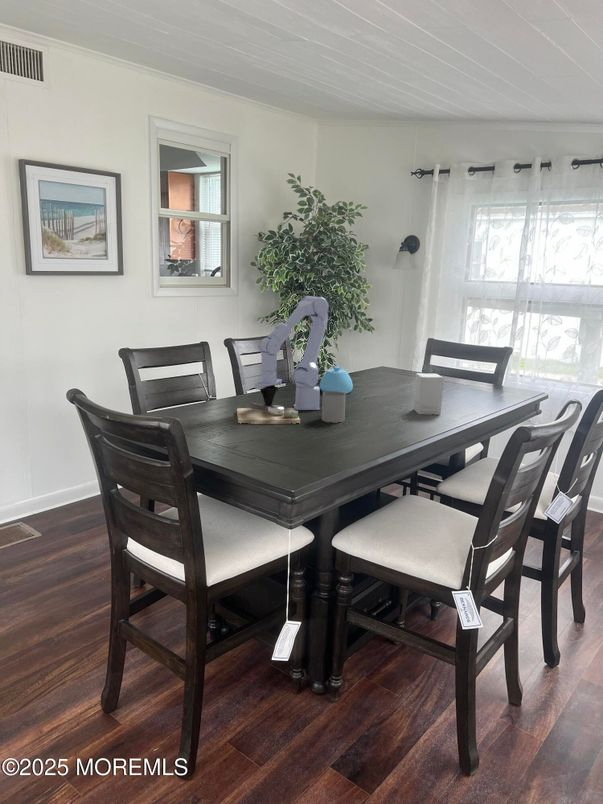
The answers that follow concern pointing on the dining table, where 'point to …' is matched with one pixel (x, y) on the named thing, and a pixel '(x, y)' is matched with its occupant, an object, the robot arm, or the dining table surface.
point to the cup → (333, 406)
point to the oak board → (267, 416)
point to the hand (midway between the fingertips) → (268, 405)
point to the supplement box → (428, 393)
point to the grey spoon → (269, 408)
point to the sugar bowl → (336, 381)
